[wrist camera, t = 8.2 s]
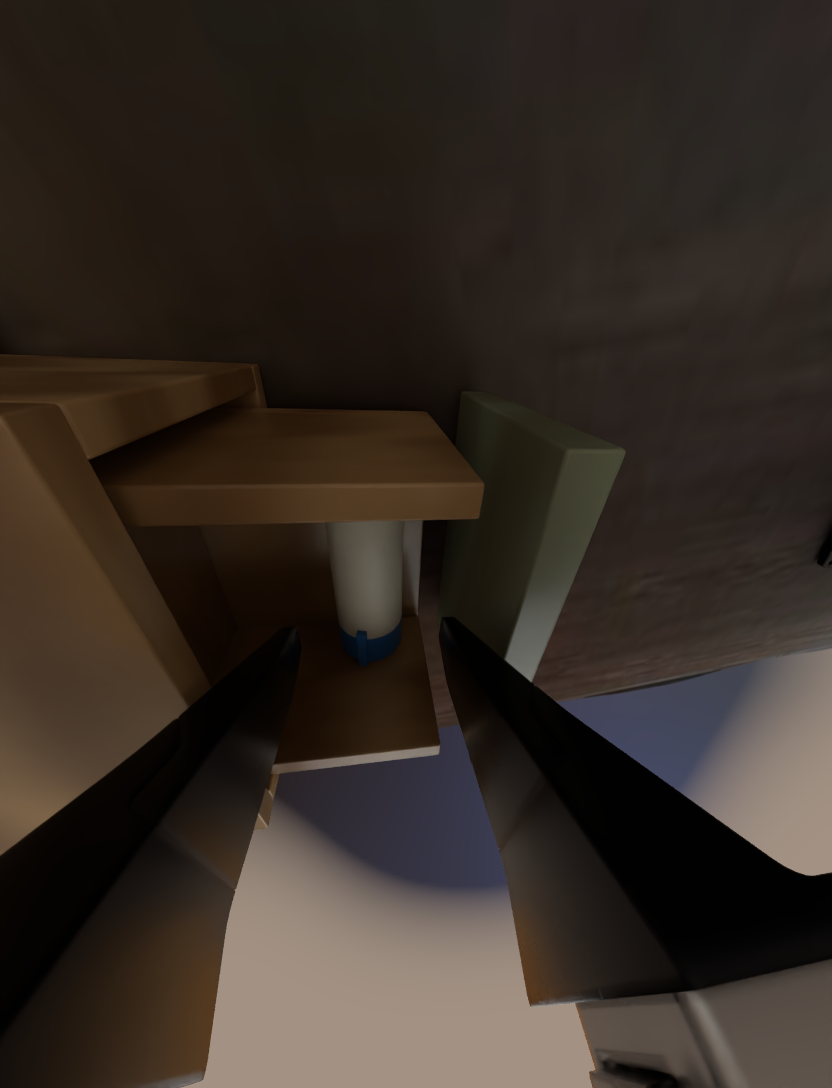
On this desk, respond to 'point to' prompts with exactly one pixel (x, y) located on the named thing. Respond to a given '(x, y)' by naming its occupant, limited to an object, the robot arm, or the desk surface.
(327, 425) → the drawer
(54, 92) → the desk surface
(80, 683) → the cabinet
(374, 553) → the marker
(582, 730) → the robot arm
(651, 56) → the desk surface
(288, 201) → the desk surface
